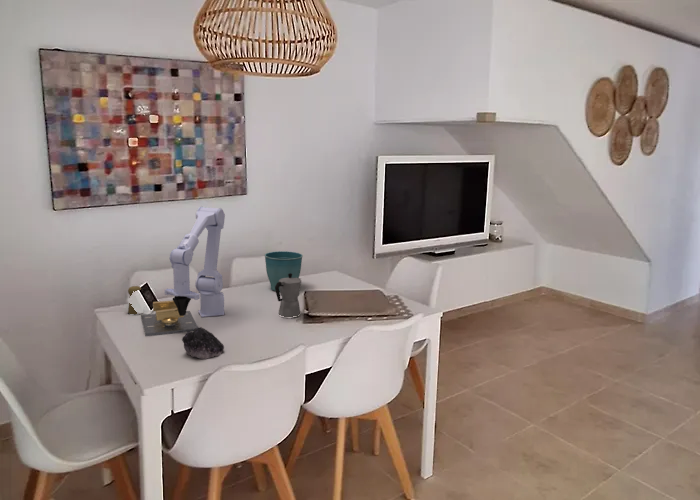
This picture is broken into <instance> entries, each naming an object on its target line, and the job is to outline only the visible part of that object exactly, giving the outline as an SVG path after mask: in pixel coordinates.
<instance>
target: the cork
mask: <svg viewBox="0 0 700 500" xmlns="http://www.w3.org/2000/svg"><path fill="white" fill-rule="evenodd" d="M141 289H142V287H140V286H138V285H133V286H130V287H128V290H127V293H128V295H129V297H130V296H131V295H132V293H133V291H134V292H135V291H137V290H141ZM131 305H132V304H130V303H129V302H128V310H127V314H128V313H130V314H137V312H136V311H135V310H134V308H133V307H132V306H131ZM130 314H129V315H130Z"/></svg>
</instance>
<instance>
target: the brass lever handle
mask: <svg viewBox="0 0 700 500" xmlns="http://www.w3.org/2000/svg"><path fill="white" fill-rule="evenodd" d="M155 314H156V320H157V321H158V320H162V324H165V325H172V324H176V323H178V318H180V317H184V316H180V315H179V312H178V309H177V308H174V309H167V310H159V311H155Z"/></svg>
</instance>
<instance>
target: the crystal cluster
mask: <svg viewBox="0 0 700 500" xmlns="http://www.w3.org/2000/svg"><path fill="white" fill-rule="evenodd" d="M181 341H182V343H183V348H184V351H185V353H186V355H188V356H190V355H191V356H190V357H192V358H198V359H205V360H206V359H210V358H215V357H218V356H220V355H221V354H222V353H223V351H224V349H225V346H224V343H222V342H221V341H220V340H219V339H218V337H216V336H215V335H214V334H213V333H212V332H210V331H208V329H207V330H206V329H205V328H203V327H202V326H201V327H200V326H199V327H198V328H195V330H194V331H191V332H190V331H188V332H185V334H184V336H182V339H181ZM214 356H215V357H214Z"/></svg>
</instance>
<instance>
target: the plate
mask: <svg viewBox="0 0 700 500" xmlns="http://www.w3.org/2000/svg"><path fill="white" fill-rule="evenodd" d="M140 320H141V325H142V328H143V332H144V336H145V337H150V336H160V335H161V336H162V335H171V334H181V333H182V334H183V333H187V332H188V331H190V332H193V331H194V330H195V328H199V327H198V325H197V322H196V321H195V318H194V317H193V315H192V313H191V311H190V310H186V315H184V317H180V318H178V323H176V324H172V325H165V324H162V320H158V321H157V320H156V313H151V314H140Z"/></svg>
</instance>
